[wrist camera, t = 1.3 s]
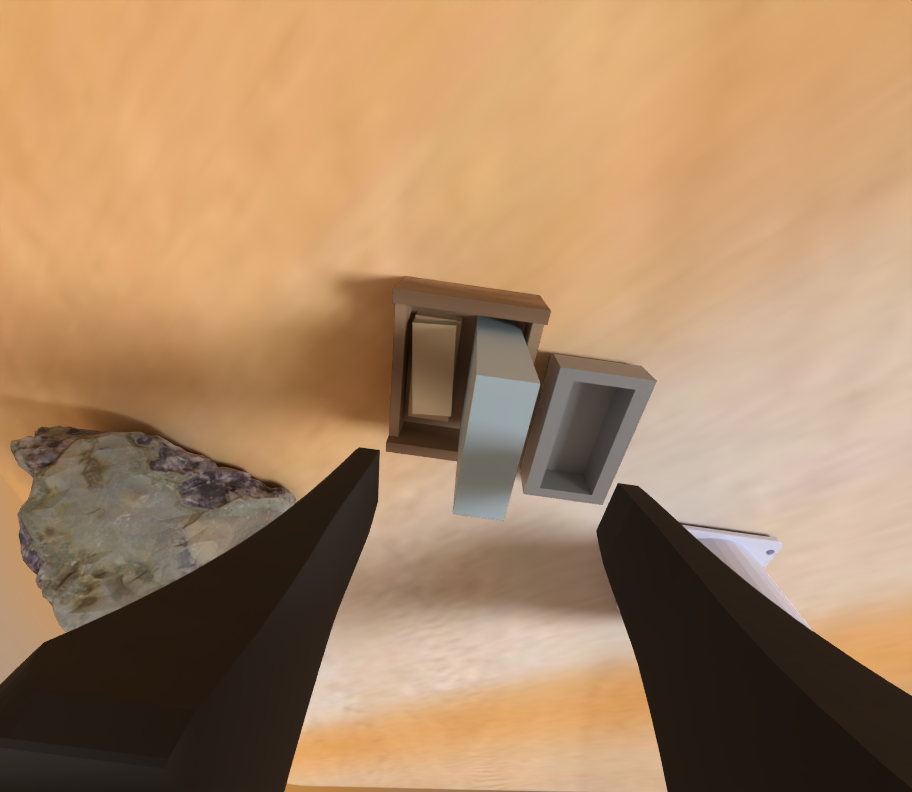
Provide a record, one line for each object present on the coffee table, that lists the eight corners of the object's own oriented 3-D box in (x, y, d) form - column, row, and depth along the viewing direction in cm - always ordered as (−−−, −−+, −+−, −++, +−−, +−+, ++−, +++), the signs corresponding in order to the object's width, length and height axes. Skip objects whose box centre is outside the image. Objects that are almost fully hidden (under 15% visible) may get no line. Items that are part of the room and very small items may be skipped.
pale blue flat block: (495, 424, 20) (503, 521, 14) (460, 419, 20) (452, 514, 14) (518, 321, 17) (540, 383, 11) (477, 315, 17) (476, 374, 11)
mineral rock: (70, 410, 22) (-200, 543, 13) (200, 353, 20) (-23, 468, 11) (206, 545, 28) (77, 703, 19) (321, 512, 25) (236, 676, 16)
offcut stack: (450, 415, 20) (449, 429, 19) (409, 409, 20) (405, 422, 19) (464, 318, 17) (463, 326, 16) (417, 310, 17) (412, 318, 16)
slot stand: (591, 479, 22) (602, 504, 20) (519, 469, 22) (523, 494, 20) (638, 363, 19) (656, 380, 17) (552, 350, 19) (560, 367, 17)
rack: (506, 436, 21) (510, 468, 19) (397, 421, 21) (385, 451, 19) (539, 295, 17) (551, 311, 15) (406, 276, 17) (393, 288, 15)
